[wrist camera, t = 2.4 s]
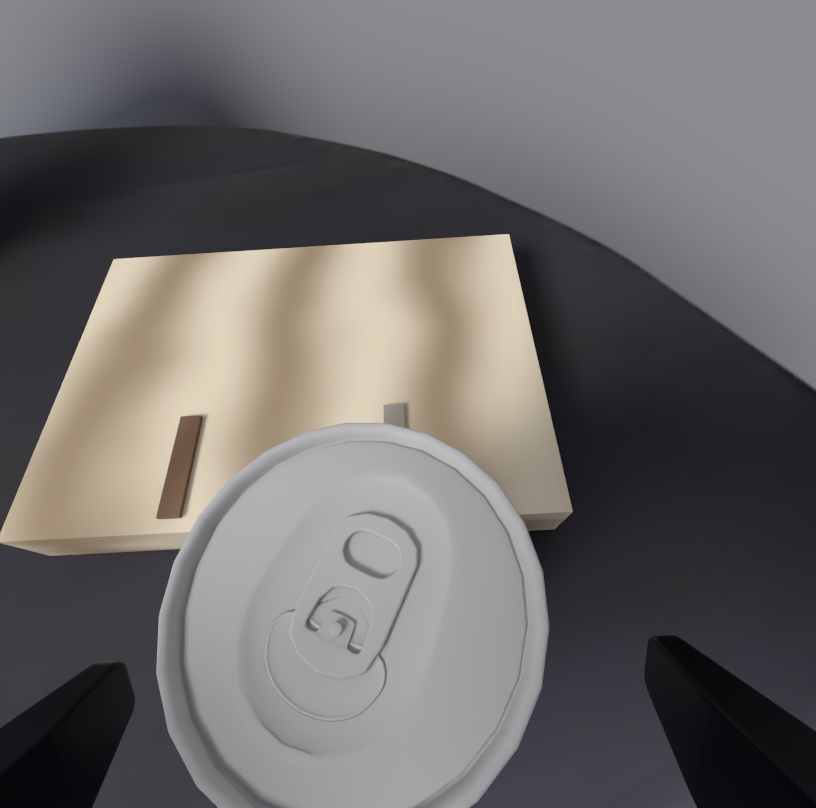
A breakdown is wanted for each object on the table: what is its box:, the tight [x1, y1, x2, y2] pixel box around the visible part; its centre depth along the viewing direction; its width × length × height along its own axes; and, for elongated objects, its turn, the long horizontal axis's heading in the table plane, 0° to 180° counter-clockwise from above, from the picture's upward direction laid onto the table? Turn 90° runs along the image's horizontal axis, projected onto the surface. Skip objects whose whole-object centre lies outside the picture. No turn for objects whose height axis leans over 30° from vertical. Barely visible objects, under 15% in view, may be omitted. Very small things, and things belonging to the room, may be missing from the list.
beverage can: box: [156, 423, 549, 808], centre depth 10 cm, size 5×5×12 cm
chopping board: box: [0, 234, 573, 556], centre depth 19 cm, size 20×14×3 cm
